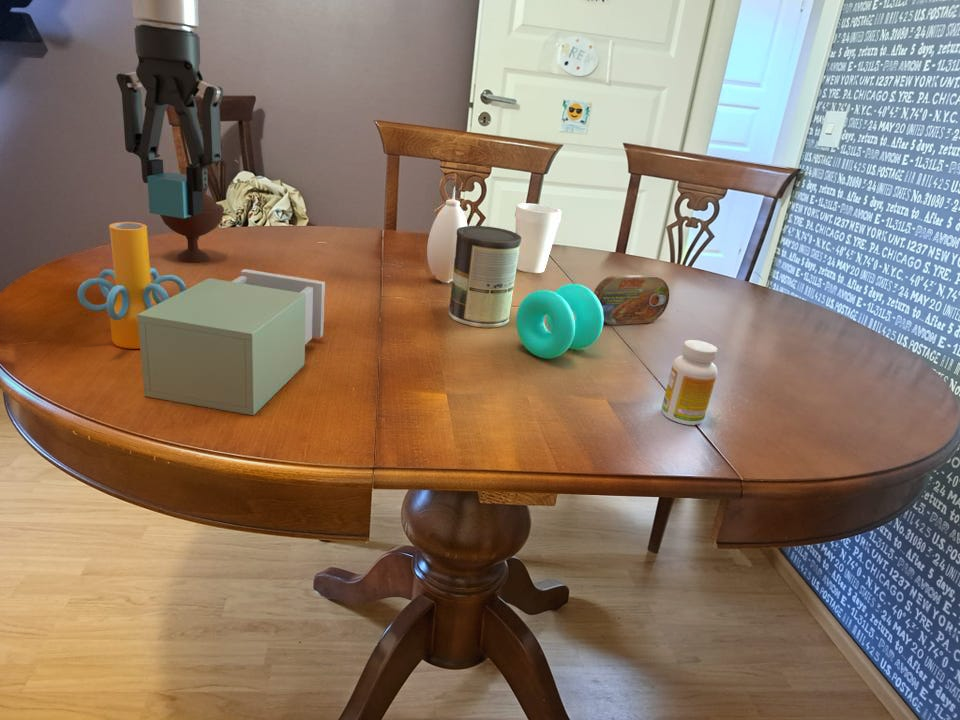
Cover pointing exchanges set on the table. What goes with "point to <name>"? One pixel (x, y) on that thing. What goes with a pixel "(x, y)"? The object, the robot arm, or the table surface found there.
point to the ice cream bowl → (196, 228)
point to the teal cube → (168, 194)
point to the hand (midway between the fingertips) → (176, 210)
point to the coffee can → (483, 276)
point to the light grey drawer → (294, 284)
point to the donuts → (559, 320)
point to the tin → (632, 299)
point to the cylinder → (128, 283)
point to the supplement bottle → (690, 383)
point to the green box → (222, 345)
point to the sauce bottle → (445, 240)
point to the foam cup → (535, 235)
